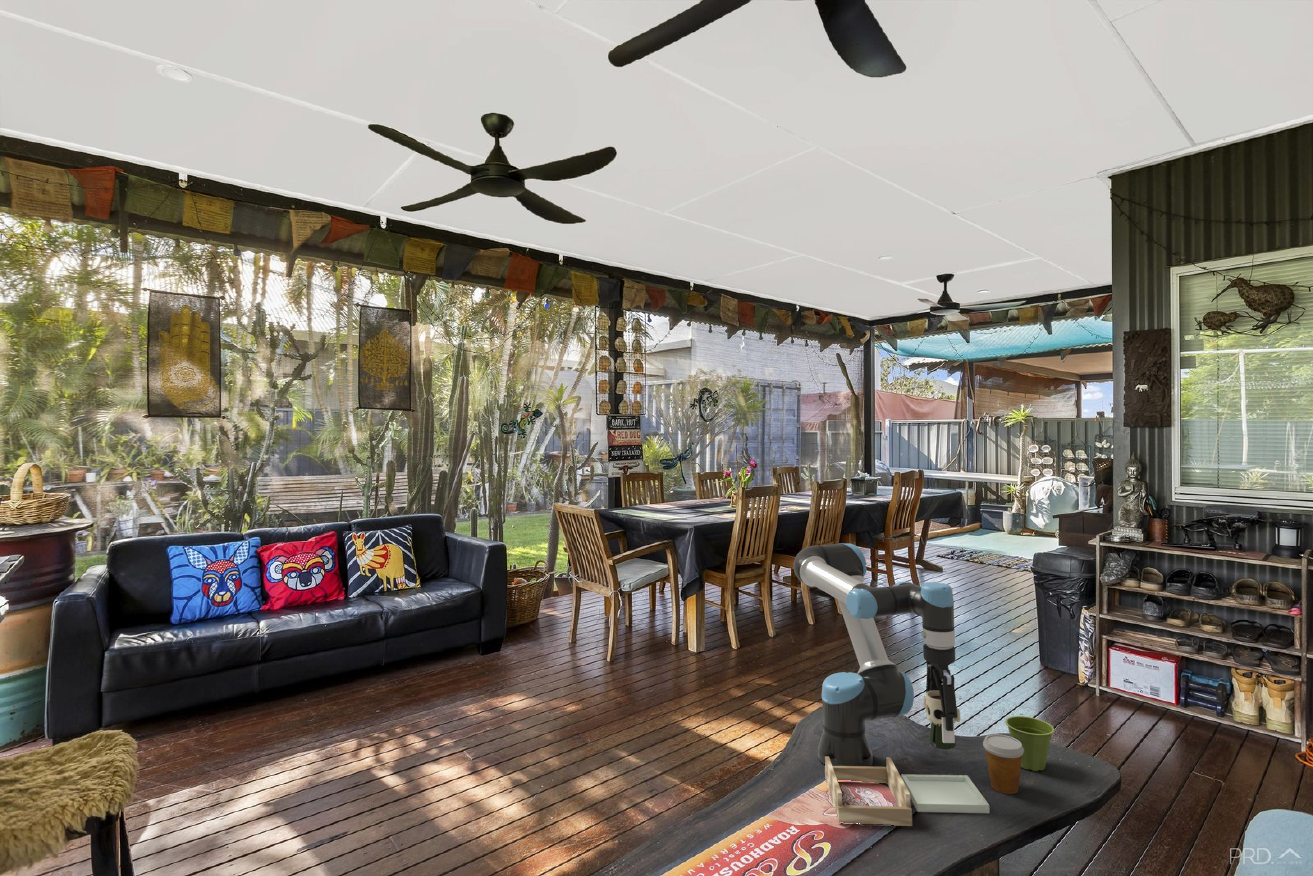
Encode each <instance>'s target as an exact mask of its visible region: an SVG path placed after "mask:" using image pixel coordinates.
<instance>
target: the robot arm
mask: <svg viewBox="0 0 1313 876" xmlns="http://www.w3.org/2000/svg"><path fill="white" fill-rule="evenodd" d="M793 571H794V574H795V576H796V578H797V579H798V580H799V581H800V582H801V583H803V584H805V585H807V586H808V587H812V588H813V587H816V588H818V589H820V590H821V591H823V592H825V593H826V594H828V595H830V596H831V597H833V598H835V599H836V600H837V602H838V606H839V608H840V611H841V614H842V617H843V620H844V623H845V626H846V628H847V632H848V636H849V637H850V641H851V644H852V646H853V650H854V653H855V656H856V659H857V661H858V665H859V669H858V671H857V673H855V672H850V671H848V672H846V671H843V672H842V671H841V672H837V673H833V674H829V675H828V676H827V677H826V678H824V680H823V682H822V684H821V686H822V687H821V701H822V702H821V703H822V723H823V724H822V727H823V731H822V733H821V735H820V736H821V737H820V739H819V743H818V747H817V758H818V757H819V759H820V760H821V761H822V762H823V763H824V764H825V757H829V758H830V761H831V764H832V766H870V767H872V766H873V763H874V762H873V760H874V759H873V752H872V749H871V747H870V743H869V739H868V737H867V734H866V722H869V721H876V720H883V719H889V718H893V719H894V718H895V719H896V718H897V717H901V716H904V715H907V714H909V712H910V711H911V710H912V709H913V707H914V702H915V691H914V687H913V683H912V681H911V679H910V678H909V676H908V675H907V674H906V673H904V672H902V671H899V670H898V668H897V665H896V664H895V663H894V662H892V661H891V660H890V659H889V657H888V654H887V652H886V649H885V646H884V644H883V641H882V639H881V635H880V633H879V630H878V627H877V625H876V621H875V618H881V617H888V616H889V617H890V616H898V615H899V616H900V615H907V614H912V615H915V616H918V617H921V621H922V631H921V632H920V635H921V636H922V640H923V641H922V642H923V643H924V644H923V646H922V648H923V655H922V656H923V659H924V660H925V662H926V686H925V687H926V688H925V693H927V692H929V691H933V690H939V693H940V699H941V705H942V711H943V715H940V717H942V742H943V743H955V742H956V736H955V723H954V718H957V716H958V715H957V709H958V708H957V698H956V697H957V696H956V689H955V676H954V675H952V673H951V669H949V666H950V665H951V664H955V662H956V659H957V658H956V648H955V646H956V633H955V632H956V631H955V610H954V609H955V606H954V605H955V600H954V594H953V593H954V592H953V588H952V587H951V585H950V584H948V583H943V582H938V581H937V582H934V581H933V582H931V581H930V582H925V583H923V584H921V586H920V585H917V584H915V583H912V582H909V581H908V582H907V581H898V582H896V583H895V584H893V585H890V586H881V587H873V586H871V585H868V584H866V583H864V581H865V576H866V574H867V561H866V557H865V554H864V553H863V551H862V550H861V549H860V548H859V547H858V546H857V545H855V544H852V543H841V542H840V543H833V544H832V543H831V544H822V545H821V544H819V545H811V546H807V547H805V548H803V549H802V550H800V551H799V552H798V553H797V554H796V556H795V558H794V561H793ZM955 696H956V697H955ZM931 723H932V722H931V721H930V720H929V724H930V725H929V726H930V727H931ZM819 759H818V760H819ZM824 764H823V765H824Z"/></svg>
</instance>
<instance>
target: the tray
mask: <svg viewBox="0 0 1313 876" xmlns="http://www.w3.org/2000/svg"><path fill="white" fill-rule="evenodd" d="M900 776H901V778H902V780H903V782H904V784H905V786H906V787H907V789H908V791H909V793H910V801H911V802H912V803H913V806H914V808H915V809H916V812H917V813H952V814H953V813H957V814H959V813H960V814H961V813H963V814H990V804H989V803H988V801H987V800H986V799H985V796H983V795H982V793H981V791H979V789H978V788H977V787H976V785H975V783H974V782H973V780H971V778H970V776H969V775H963V774H959V775H957V774H954V775H953V774H907V773H906V774H905V773H904V774H903V773H902V774H901V775H900Z"/></svg>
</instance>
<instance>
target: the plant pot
mask: <svg viewBox="0 0 1313 876" xmlns="http://www.w3.org/2000/svg"><path fill="white" fill-rule="evenodd" d="M1004 722H1005V724H1006V726H1007V728H1008V732H1009V735H1010V737H1013V738H1015V739H1017V740H1019V741H1020V742H1021V744H1022V747H1023V748H1024V753H1023V755H1022V760H1021V769H1023V770H1024V769H1025V770H1032V771H1033V772H1038V771H1037V770H1041V769H1044V768H1045V769H1046V764H1047V760H1048V759H1047V758H1048V752H1049V748H1050V741H1051V740H1052V737H1053V736H1052V735H1053V734H1054V733H1055V728H1054V726H1053V725H1052V724H1050V723H1049V722H1046V721H1044V720H1042V719H1039V718H1035V717H1031V716H1025V715H1013V716H1008V717H1007V718H1005V721H1004ZM1045 769H1044V770H1045ZM1041 771H1042V770H1041Z"/></svg>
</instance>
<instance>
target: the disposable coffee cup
mask: <svg viewBox="0 0 1313 876" xmlns="http://www.w3.org/2000/svg"><path fill="white" fill-rule="evenodd" d="M982 745H983V748H984V750H985V757H986V763H987V768H988V774H989V780H990V781H989V782H990V786H991V788H992V789H994V791H997V792H999V793H1003V794H1007V795H1013V794H1017V793H1018V792H1019V786H1020V777H1021V769H1022V767H1021V760H1022V755H1023V753H1024V748H1023V747H1022V744H1021V742H1020V741H1019V740H1017V739H1015V738H1013V737H1011V736H1009V735H1004V734H999V733H996V734H994V733H993V734H988V735H986V736H985V737H984V740H983V742H982Z"/></svg>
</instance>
